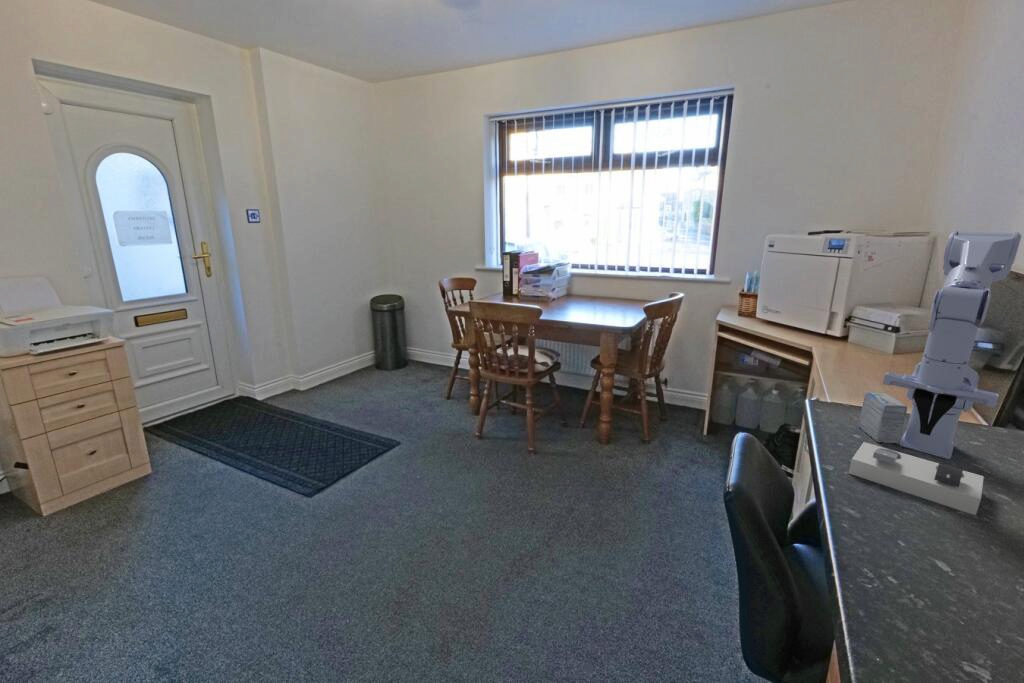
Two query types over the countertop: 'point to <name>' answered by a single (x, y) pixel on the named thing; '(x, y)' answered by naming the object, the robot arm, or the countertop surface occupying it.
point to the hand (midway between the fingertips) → (925, 432)
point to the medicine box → (882, 417)
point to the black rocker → (948, 475)
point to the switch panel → (917, 478)
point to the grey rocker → (885, 456)
